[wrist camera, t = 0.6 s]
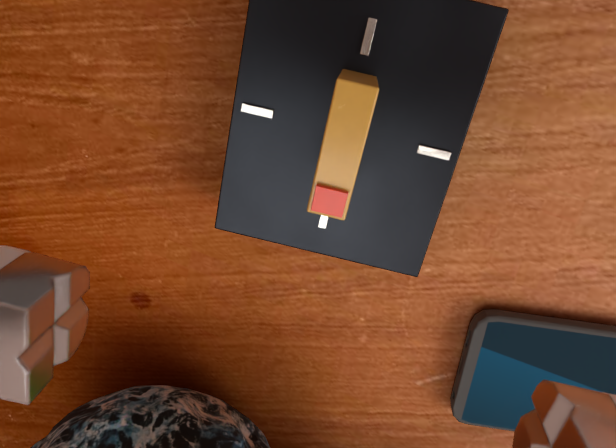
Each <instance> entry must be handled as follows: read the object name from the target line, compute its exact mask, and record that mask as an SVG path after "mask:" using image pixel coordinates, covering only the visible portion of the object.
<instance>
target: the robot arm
mask: <svg viewBox="0 0 616 448" xmlns="http://www.w3.org/2000/svg"><path fill="white" fill-rule="evenodd" d="M89 289H90V272H89V270H88V269H87V268H86V266H83V265H79V264H76V263H72V262H68V261H64V260H61V259H57V258H53V257H49V256H46V255H42V254H38V253H34V252H30V251H27V250H23V249H19V248H15V247H10V246H2V245H0V399H3V400H8V401H12V402H17V403H21V404H26V405H29V404H30V403H31V402H32V401H33V400H34V398H35V397H36V396H37V395H38V394H39V393H40V392H41V391H42V389H43V388H44V387H45V386H46V385H47V384H48V383H49V382H50V380H51V379H52V378H53V366H55V365H57V364H60V363H63V362H65V361H68V360H69V359H70V358H71V356H72V355H73V354H74V353H75V352H76V351H77V349H78V347H79V345H80V343H81V341H82V339H83V337H84V335H85V332H86V328H87V324H88V315H89V309H88V308H87V306H86V304H85V303H84V301H83V299H82V298H81V297H82V296H83V295H84V294H85V293H86V292H87V291H88V290H89ZM531 399H532V402H533V405H534V408H535V409H533V410H532V411H530V412H528V413H526V414H524V415H523V416H521V418H520V420H519V422H518V425H517V427H516V429H515V432H514V439H513V448H616V395H614V394H609V393H605V392H598V391H594V390H589V389H585V388H580V387H576V386H571V385H567V384H562V383H558V382H554V381H549V380H545V379H544V380H542V381H541V382H540V383H539V384H538V385H537V386H536V388H535V390H534V392H533V394H532V396H531Z"/></svg>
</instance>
